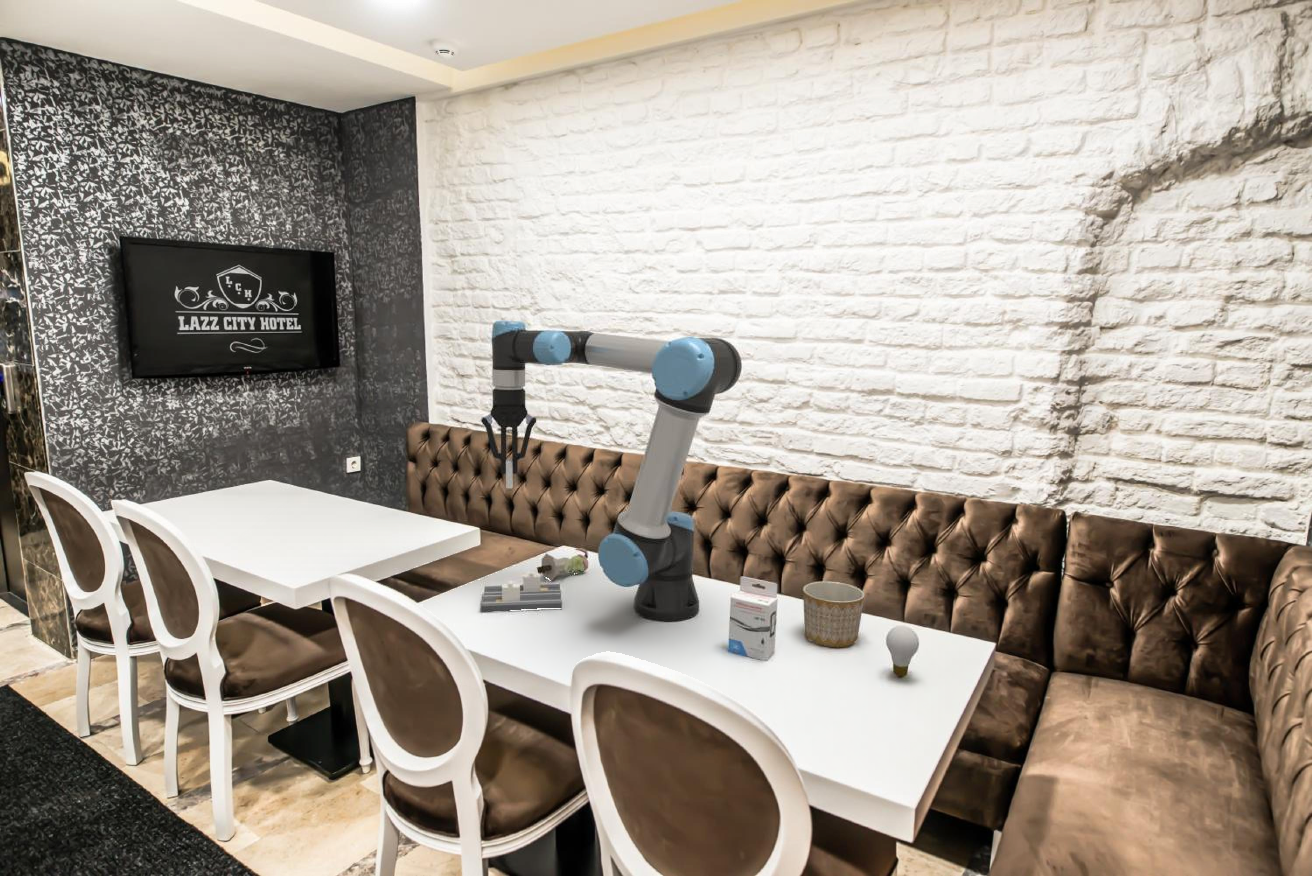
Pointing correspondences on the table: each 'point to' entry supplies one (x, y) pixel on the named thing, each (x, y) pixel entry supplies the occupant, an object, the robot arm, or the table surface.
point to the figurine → (563, 565)
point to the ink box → (753, 619)
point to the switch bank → (522, 598)
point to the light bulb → (902, 648)
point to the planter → (832, 613)
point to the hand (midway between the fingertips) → (509, 487)
